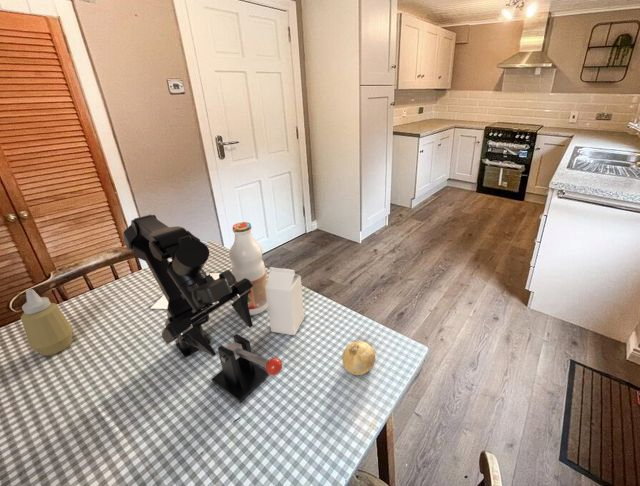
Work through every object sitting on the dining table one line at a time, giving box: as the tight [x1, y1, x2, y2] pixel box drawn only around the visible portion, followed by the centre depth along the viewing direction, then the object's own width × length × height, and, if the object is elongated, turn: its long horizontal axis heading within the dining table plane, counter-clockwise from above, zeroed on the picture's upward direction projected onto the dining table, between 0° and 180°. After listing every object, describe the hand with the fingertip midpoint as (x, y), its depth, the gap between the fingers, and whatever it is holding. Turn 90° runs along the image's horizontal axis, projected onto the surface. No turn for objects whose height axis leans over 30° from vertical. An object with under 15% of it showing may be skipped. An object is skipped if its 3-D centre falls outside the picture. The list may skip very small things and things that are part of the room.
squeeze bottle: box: [20, 288, 74, 357], centre depth 76 cm, size 8×8×18 cm
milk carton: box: [265, 266, 305, 336], centre depth 84 cm, size 7×7×19 cm
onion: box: [341, 340, 376, 376], centre depth 73 cm, size 8×8×7 cm
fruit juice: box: [228, 221, 268, 316], centre depth 90 cm, size 9×9×28 cm
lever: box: [225, 341, 283, 376], centre depth 64 cm, size 16×3×3 cm, turn 59°
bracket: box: [211, 333, 270, 404], centre depth 69 cm, size 10×8×11 cm
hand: (234, 340), depth 65 cm, fingers open, 9 cm apart
